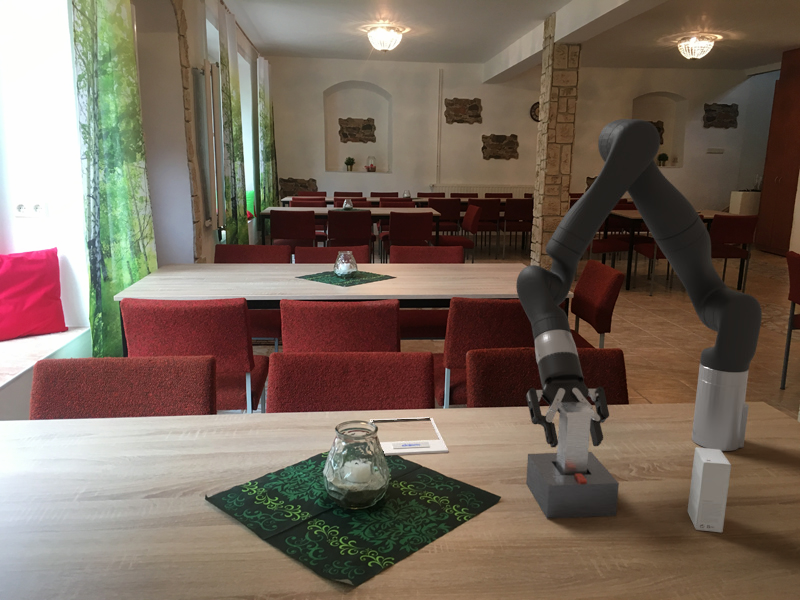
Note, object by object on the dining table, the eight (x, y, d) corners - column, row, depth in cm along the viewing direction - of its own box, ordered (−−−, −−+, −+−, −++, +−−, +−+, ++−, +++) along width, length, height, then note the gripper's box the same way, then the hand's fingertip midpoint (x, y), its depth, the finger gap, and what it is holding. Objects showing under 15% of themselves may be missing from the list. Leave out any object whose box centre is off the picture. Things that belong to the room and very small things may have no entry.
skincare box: (723, 533, 103) (732, 465, 100) (695, 530, 104) (703, 462, 101) (713, 514, 109) (721, 448, 106) (686, 511, 109) (693, 446, 107)
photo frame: (377, 452, 129) (369, 418, 146) (377, 457, 129) (369, 423, 147) (448, 449, 131) (431, 416, 148) (447, 454, 131) (431, 420, 149)
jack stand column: (577, 490, 116) (583, 401, 112) (587, 503, 111) (594, 411, 107) (551, 491, 115) (557, 402, 112) (560, 505, 110) (566, 412, 107)
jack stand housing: (588, 481, 119) (591, 449, 118) (615, 515, 108) (619, 480, 106) (526, 483, 118) (528, 451, 117) (546, 518, 107) (549, 482, 105)
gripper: (524, 350, 114) (541, 438, 105) (601, 349, 116) (624, 436, 107) (515, 369, 121) (530, 454, 112) (588, 368, 122) (609, 451, 113)
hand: (576, 445), depth 109 cm, fingers open, 7 cm apart
